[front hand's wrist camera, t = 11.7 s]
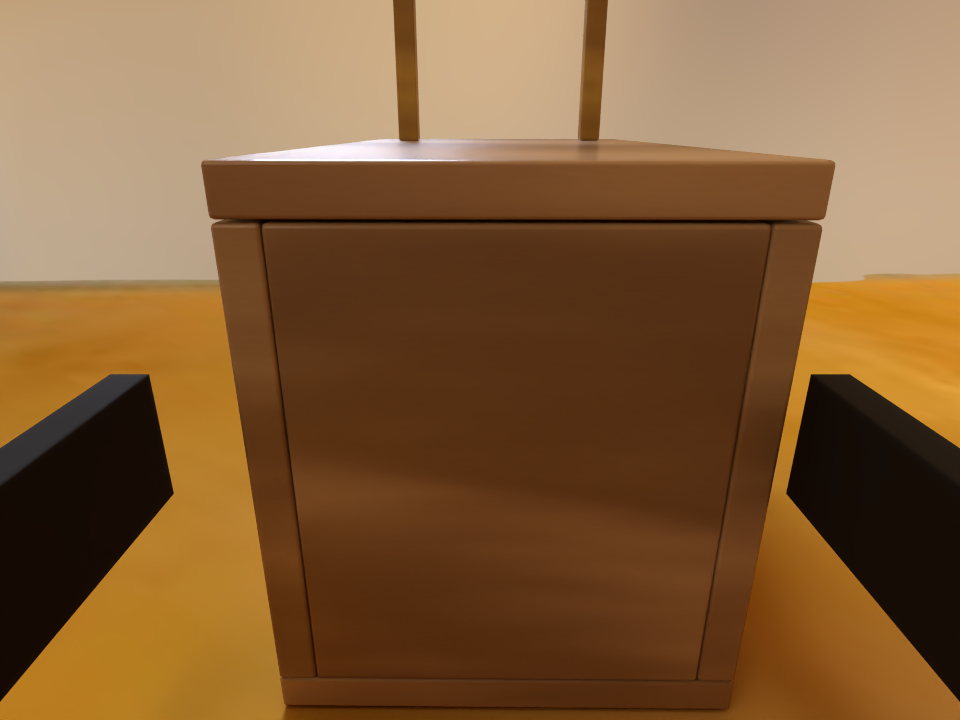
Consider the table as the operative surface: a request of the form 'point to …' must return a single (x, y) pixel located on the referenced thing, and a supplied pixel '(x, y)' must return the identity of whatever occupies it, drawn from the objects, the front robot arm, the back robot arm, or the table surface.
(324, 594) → the chest
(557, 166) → the lid
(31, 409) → the table surface
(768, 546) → the table surface
